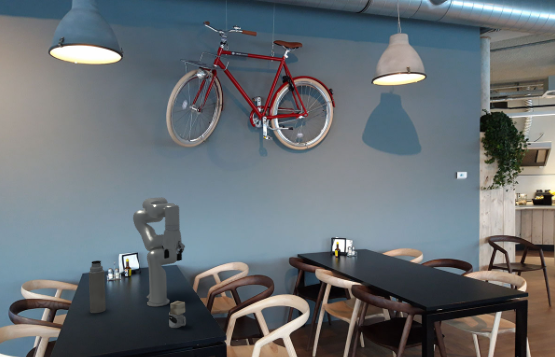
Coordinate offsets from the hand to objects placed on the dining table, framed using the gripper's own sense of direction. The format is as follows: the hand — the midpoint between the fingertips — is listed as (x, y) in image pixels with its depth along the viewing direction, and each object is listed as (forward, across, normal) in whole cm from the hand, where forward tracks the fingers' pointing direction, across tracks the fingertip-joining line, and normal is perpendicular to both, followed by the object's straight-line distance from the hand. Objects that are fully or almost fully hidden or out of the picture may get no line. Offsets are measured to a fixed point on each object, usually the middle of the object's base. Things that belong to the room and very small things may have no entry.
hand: (173, 259), depth 230 cm
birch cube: (+23, +16, -12) cm, 30 cm away
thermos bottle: (+31, -41, -18) cm, 55 cm away
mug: (+30, +16, -12) cm, 36 cm away
